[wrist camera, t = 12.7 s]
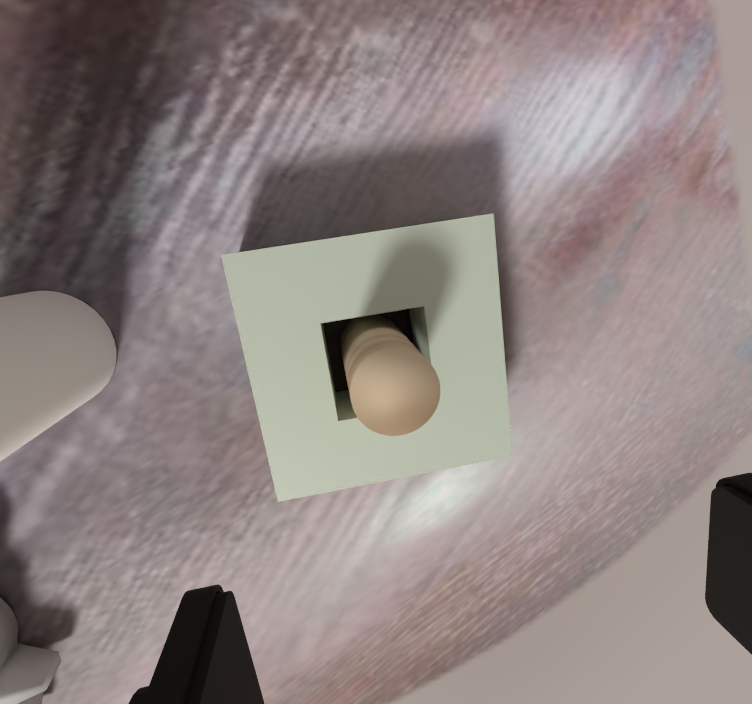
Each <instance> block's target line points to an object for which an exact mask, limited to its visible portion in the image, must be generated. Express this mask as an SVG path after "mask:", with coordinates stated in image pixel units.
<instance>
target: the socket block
mask: <svg viewBox="0 0 752 704" xmlns="http://www.w3.org/2000/svg"><path fill="white" fill-rule="evenodd" d="M221 257H222V261H223V266H224V270H225V274H226V279H227V283H228V287H229V292H230V296H231V300H232V305H233V309H234V313H235V318H236V322H237V326H238V331H239V335H240V339H241V344H242V348H243V352H244V357H245V361H246V365H247V370H248V374H249V378H250V383H251V387H252V391H253V396H254V400H255V404H256V409H257V413H258V417H259V422H260V426H261V430H262V434H263V439H264V443H265V447H266V452H267V456H268V460H269V465H270V469H271V473H272V478H273V482H274V486H275V491H276V495H277V499H278V502H280V501H285V500H290V499H295V498H300V497H305V496H310V495H315V494H320V493H326V492H331V491H336V490H341V489H346V488H351V487H356V486H361V485H366V484H371V483H377V482H382V481H387V480H392V479H397V478H402V477H407V476H412V475H417V474H423V473H428V472H433V471H438V470H443V469H448V468H453V467H458V466H463V465H468V464H474V463H479V462H484V461H489V460H494V459H499V458H504V457H509V456H512V444H511V431H510V418H509V405H508V392H507V379H506V366H505V353H504V340H503V327H502V315H501V302H500V289H499V276H498V263H497V250H496V237H495V224H494V213H492V214H486V215H479V216H472V217H466V218H459V219H452V220H446V221H439V222H433V223H426V224H420V225H413V226H407V227H400V228H394V229H387V230H381V231H374V232H368V233H361V234H354V235H348V236H341V237H335V238H328V239H322V240H315V241H309V242H302V243H296V244H289V245H283V246H276V247H270V248H263V249H257V250H250V251H243V252H237V253H231V254H224V255H221ZM404 309H409V313H410V320H411V328H412V336H413V343H414V346H415V347H416V348H417V349H418V351H419V352H420V353H421V354H422V355H423V356H424V357H425V358H426V359H427V361H428V362H429V363H430V364H431V365H432V366H433V368H434V369H435V371H436V373H437V375H438V378H439V382H440V399H439V403H438V406H437V408H436V410H435V412H434V414H433V415H432V417H431V418H430V419H429V420H428V422H426V423H425V424H424V425H423V426H422V427H420V428H419V429H417V430H415V431H413V432H411V433H408V434H405V435H399V436H387V435H382V434H378V433H376V432H374V431H372V430H370V429H368V428H367V427H366V426H364V425H363V424H362V423H361V422H360V420H359V419H358V418H357V416H356V414H355V412H354V410H353V407H352V403H351V399H350V394H349V390H344V391H339V392H335V386H334V381H333V375H332V370H331V364H330V359H329V353H328V348H327V342H326V337H325V331H324V326H323V323H326V322H332V321H338V320H344V319H350V318H356V317H362V316H368V315H374V314H380V313H386V312H392V311H398V310H404Z"/></svg>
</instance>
